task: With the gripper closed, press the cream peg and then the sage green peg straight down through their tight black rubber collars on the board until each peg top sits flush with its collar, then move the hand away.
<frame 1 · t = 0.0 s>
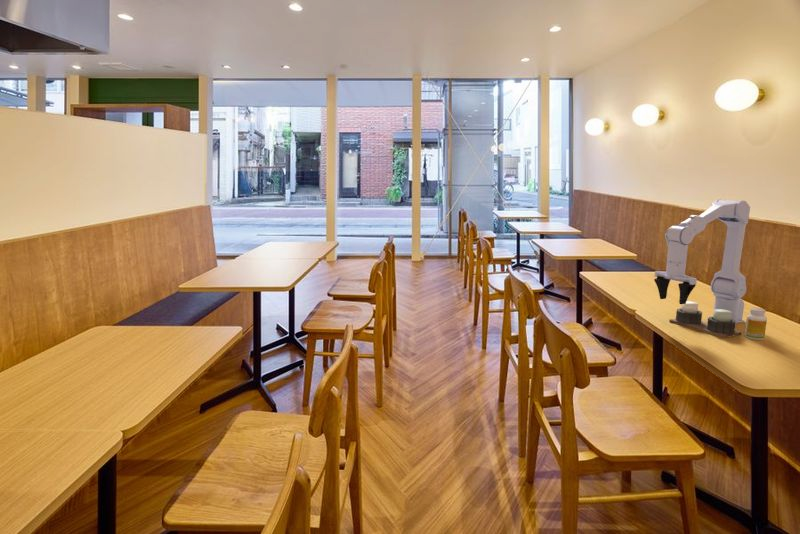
hand: (672, 301, 173), 10 cm above the table, tool pointing down, fingers open, 7 cm apart
peg sage: (722, 316, 171), point 6 cm above the table, slide at 0.0 cm
collar board: (703, 327, 177), on the table
peg cream: (689, 307, 181), point 6 cm above the table, slide at 0.0 cm
supplement bottle: (754, 338, 166), on the table
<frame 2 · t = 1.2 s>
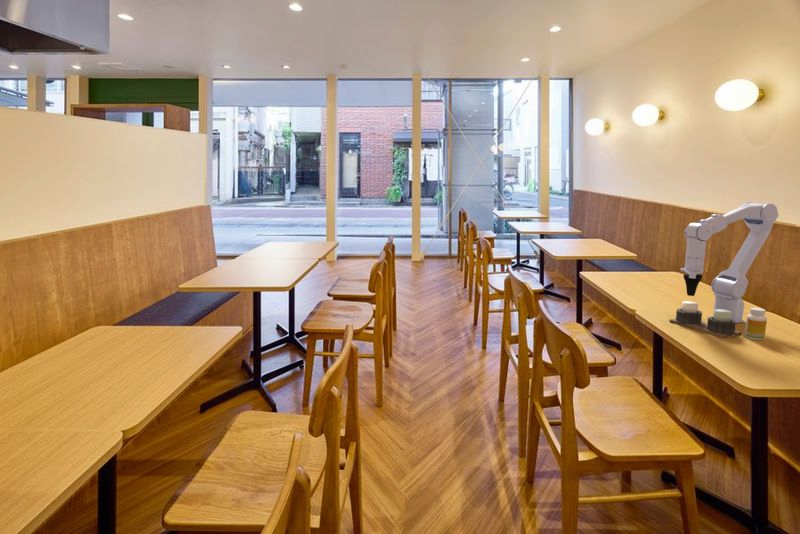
hand: (690, 295, 181), 10 cm above the table, tool pointing down, fingers closed
nothing on the table moved.
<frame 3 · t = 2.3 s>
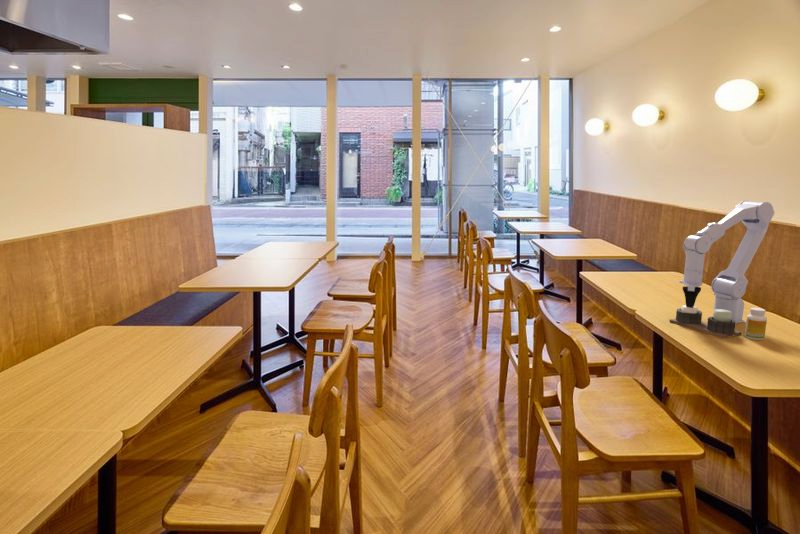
hand: (689, 307, 181), 6 cm above the table, tool pointing down, fingers closed, pressing on peg cream
peg cream: (689, 311, 182), point 4 cm above the table, slide at 1.5 cm, touching gripper
everything else where it was.
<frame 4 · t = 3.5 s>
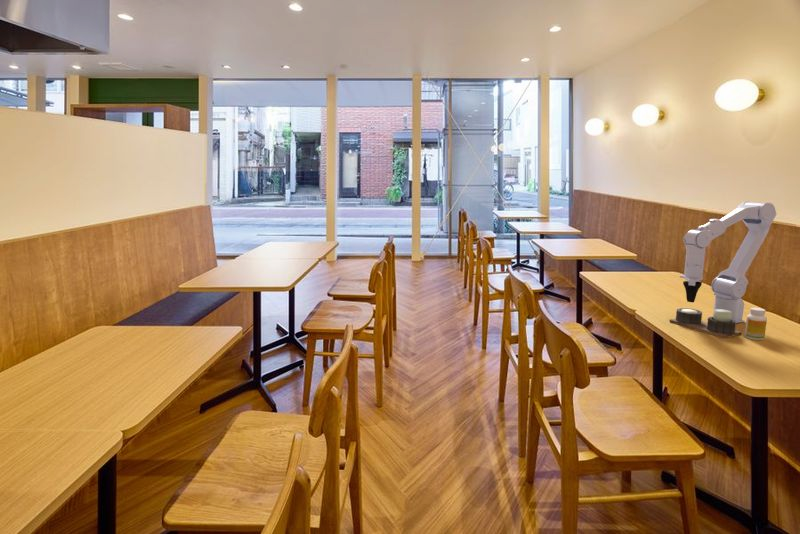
hand: (690, 301, 181), 8 cm above the table, tool pointing down, fingers closed
peg cream: (688, 315, 182), point 3 cm above the table, slide at 2.9 cm
everything else where it was.
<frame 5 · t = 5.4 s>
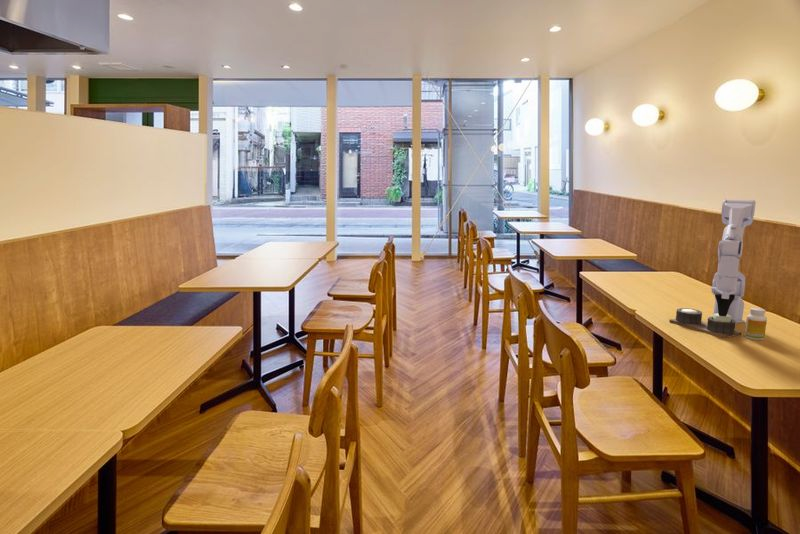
hand: (722, 315, 171), 6 cm above the table, tool pointing down, fingers closed, pressing on peg sage
peg sage: (721, 320, 171), point 4 cm above the table, slide at 1.5 cm, touching gripper
everything else where it was.
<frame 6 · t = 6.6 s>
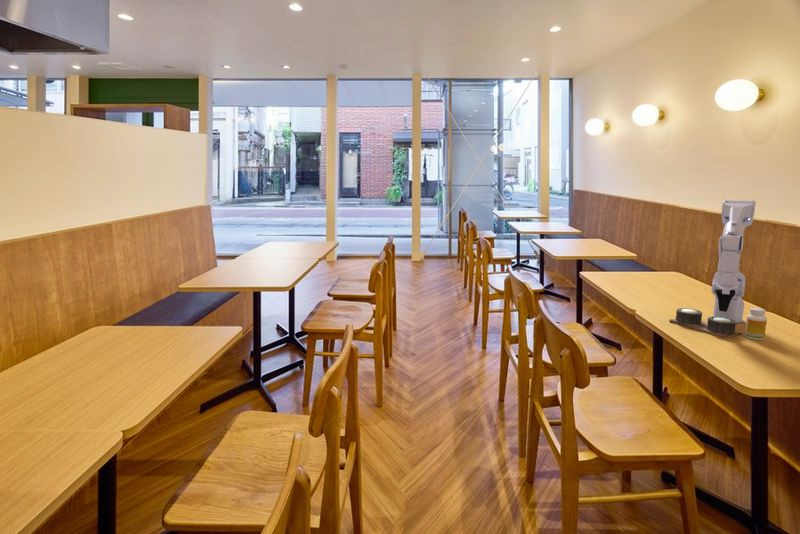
hand: (722, 311, 170), 8 cm above the table, tool pointing down, fingers closed
peg sage: (721, 324, 171), point 3 cm above the table, slide at 2.9 cm
everything else where it was.
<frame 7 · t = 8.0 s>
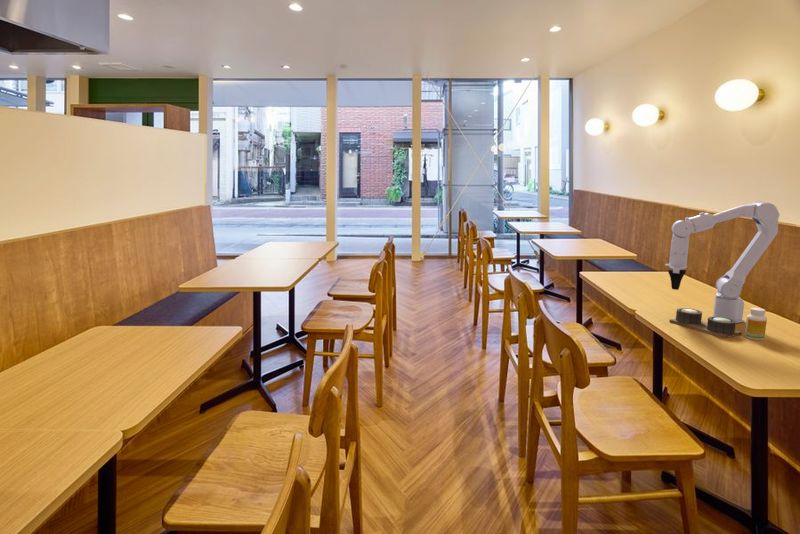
hand: (675, 289, 190), 10 cm above the table, tool pointing down, fingers closed
nothing on the table moved.
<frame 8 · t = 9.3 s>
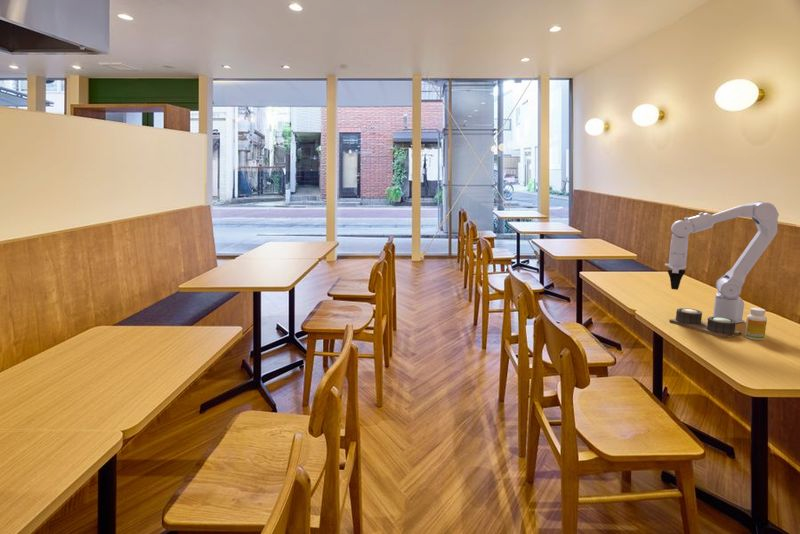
hand: (674, 289, 190), 10 cm above the table, tool pointing down, fingers closed
nothing on the table moved.
at the end: peg cream slide at 2.9 cm; peg sage slide at 2.9 cm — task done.
